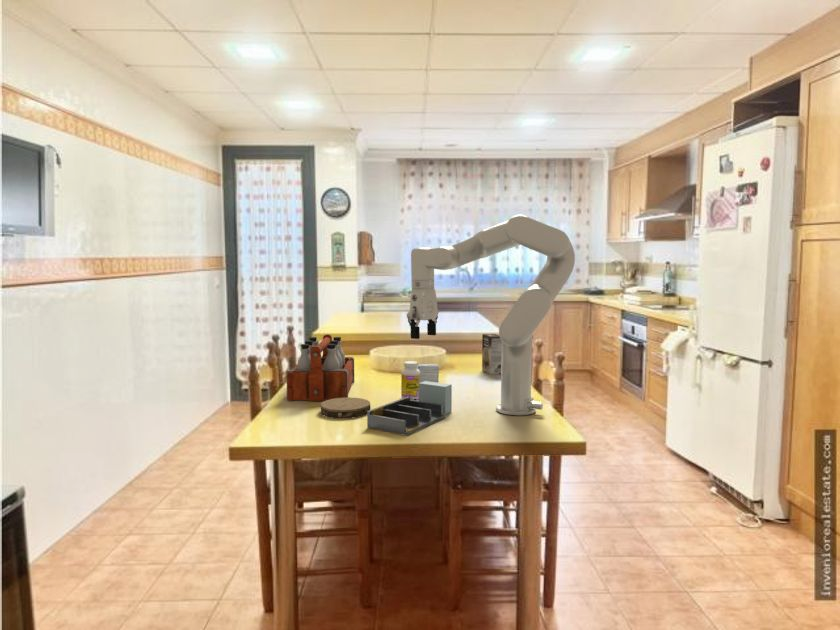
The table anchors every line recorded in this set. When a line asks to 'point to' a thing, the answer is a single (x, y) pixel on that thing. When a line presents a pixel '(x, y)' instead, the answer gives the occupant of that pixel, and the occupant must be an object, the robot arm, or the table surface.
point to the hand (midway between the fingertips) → (423, 336)
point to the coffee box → (491, 353)
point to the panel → (436, 394)
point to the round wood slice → (345, 407)
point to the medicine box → (429, 372)
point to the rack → (404, 416)
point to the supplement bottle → (410, 380)
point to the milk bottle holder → (321, 371)
